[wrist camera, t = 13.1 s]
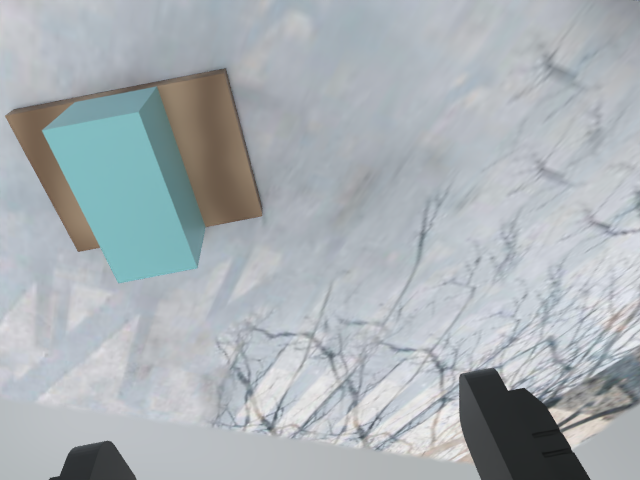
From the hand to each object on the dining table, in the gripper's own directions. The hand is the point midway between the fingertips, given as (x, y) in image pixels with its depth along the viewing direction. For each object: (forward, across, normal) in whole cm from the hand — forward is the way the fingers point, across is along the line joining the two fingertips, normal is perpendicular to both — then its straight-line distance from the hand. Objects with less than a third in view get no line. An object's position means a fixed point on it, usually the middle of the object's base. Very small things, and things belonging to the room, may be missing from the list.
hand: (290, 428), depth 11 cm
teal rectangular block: (+29, +11, +4) cm, 31 cm away
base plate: (+30, +11, +4) cm, 32 cm away
